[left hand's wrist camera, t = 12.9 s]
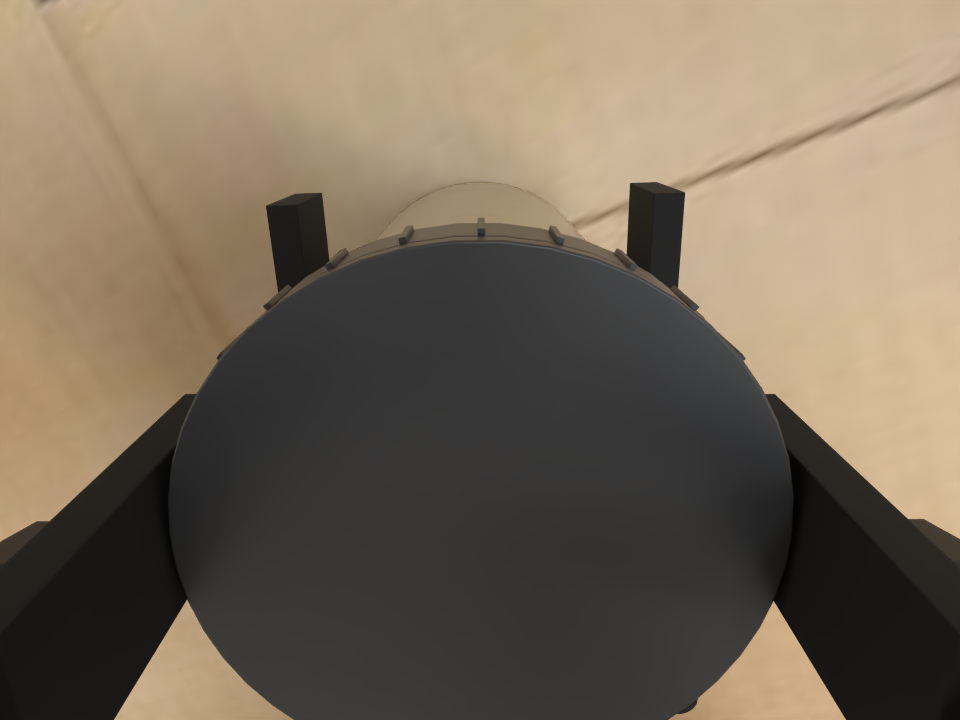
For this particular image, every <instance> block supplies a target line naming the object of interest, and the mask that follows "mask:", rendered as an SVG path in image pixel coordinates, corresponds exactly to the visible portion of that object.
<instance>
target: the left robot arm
mask: <svg viewBox="0 0 960 720" xmlns="http://www.w3.org/2000/svg"><path fill="white" fill-rule="evenodd" d="M195 396H196V394H185V395H184V396H183V397H182V398H181V399H180V400H179V401H178V402H177V403H175V404H174V405H173V406H172V407H171V408H170V409H169V410H168V411H167V412H166V413H165V414H164V415H163V416H162V417H160V418H159V419H158V420H157V421H156V422H155V423H154V424H153V425H152V426H151V427H150V428H149V429H148V430H147V431H146V432H144V433H143V434H142V435H141V436H140V437H139V438H138V439H137V440H136V441H135V442H134V443H133V444H132V445H131V446H130V447H128V448H127V449H126V450H125V451H124V452H123V453H122V454H121V455H120V456H119V457H118V458H117V459H116V460H115V461H114V462H112V463H111V464H110V465H109V466H108V467H107V468H106V469H105V470H104V471H103V472H102V473H101V474H100V475H99V476H98V477H96V478H95V479H94V480H93V481H92V482H91V483H90V484H89V485H88V486H87V487H86V488H85V489H84V490H83V491H82V492H80V493H79V494H78V495H77V496H76V497H75V498H74V499H73V500H72V501H71V502H70V503H69V504H68V505H67V506H66V507H64V508H63V509H62V510H61V511H60V512H59V513H58V514H57V515H56V516H55V517H54V518H53V519H52V520H51V521H37V522H35V523H33V524H31V525H30V526H28V527H26V528H24V529H22V530H21V531H19V532H17V533H15V534H13V535H12V536H10V537H8V538H6V539H4V540H3V541H1V542H0V720H114V719H115V717H116V715H117V714H118V712H119V710H120V709H121V707H122V706H123V704H124V702H125V701H126V699H127V697H128V696H129V694H130V692H131V691H132V689H133V687H134V686H135V684H136V683H137V681H138V679H139V678H140V676H141V674H142V673H143V671H144V669H145V668H146V666H147V664H148V663H149V661H150V660H151V658H152V656H153V655H154V653H155V651H156V650H157V648H158V646H159V645H160V643H161V641H162V640H163V638H164V637H165V635H166V633H167V632H168V630H169V628H170V627H171V625H172V623H173V622H174V620H175V618H176V617H177V615H178V614H179V612H180V610H181V609H182V607H183V605H184V604H185V602H186V600H187V597H186V594H185V591H184V589H183V586H182V583H181V580H180V577H179V575H178V572H177V569H176V565H175V560H174V555H173V550H172V545H171V540H170V535H169V515H168V492H169V483H170V474H171V465H172V460H173V456H174V453H175V449H176V446H177V442H178V438H179V435H180V431H181V427H182V425H183V423H184V421H185V418H186V416H187V414H188V412H189V410H190V407H191V405H192V403H193V401H194V399H195ZM765 396H766V398H767V400H768V402H769V404H770V406H771V408H772V410H773V412H774V415H775V417H776V419H777V421H778V423H779V426H780V430H781V433H782V436H783V440H784V443H785V447H786V450H787V453H788V457H789V462H790V470H791V478H792V485H793V493H794V503H793V532H792V537H791V543H790V548H789V553H788V559H787V564H786V567H785V570H784V573H783V576H782V579H781V582H780V585H779V588H778V591H777V594H776V597H775V599H774V602H775V604H776V605H777V607H778V609H779V610H780V612H781V614H782V615H783V617H784V618H785V620H786V622H787V623H788V625H789V627H790V628H791V630H792V632H793V633H794V635H795V637H796V638H797V640H798V641H799V643H800V645H801V646H802V648H803V650H804V651H805V653H806V655H807V656H808V658H809V660H810V661H811V663H812V664H813V666H814V668H815V669H816V671H817V673H818V674H819V676H820V678H821V679H822V681H823V683H824V684H825V686H826V687H827V689H828V691H829V692H830V694H831V696H832V697H833V699H834V701H835V702H836V704H837V706H838V707H839V709H840V710H841V712H842V714H843V715H844V717H845V719H846V720H960V539H959V538H957V537H955V536H953V535H951V534H950V533H948V532H946V531H944V530H942V529H941V528H939V527H937V526H935V525H933V524H932V523H930V522H928V521H926V520H924V519H907V518H906V517H905V516H904V515H903V514H902V513H901V512H900V511H899V510H898V509H897V508H896V507H894V506H893V505H892V504H891V503H890V502H889V501H888V500H887V499H886V498H885V497H884V496H883V495H882V494H881V493H879V492H878V491H877V490H876V489H875V488H874V487H873V486H872V485H871V484H870V483H869V482H868V481H867V480H866V479H865V478H863V477H862V476H861V475H860V474H859V473H858V472H857V471H856V470H855V469H854V468H853V467H852V466H851V465H850V464H849V463H847V462H846V461H845V460H844V459H843V458H842V457H841V456H840V455H839V454H838V453H837V452H836V451H835V450H834V449H833V448H831V447H830V446H829V445H828V444H827V443H826V442H825V441H824V440H823V439H822V438H821V437H820V436H819V435H818V434H817V433H815V432H814V431H813V430H812V429H811V428H810V427H809V426H808V425H807V424H806V423H805V422H804V421H803V420H802V419H801V418H799V417H798V416H797V415H796V414H795V413H794V412H793V411H792V410H791V409H790V408H789V407H788V406H787V405H786V404H785V403H783V402H782V401H781V400H780V399H779V398H778V397H777V396H776V395H775V394H765Z"/></svg>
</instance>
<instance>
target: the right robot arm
mask: <svg viewBox="0 0 960 720" xmlns="http://www.w3.org/2000/svg"><path fill="white" fill-rule="evenodd" d="M684 200H685V192H682V191H679V190H677V189H674V188H671V187H668V186H666V185H663V184H660V183H658V182H650V183H630V198H629V219H628V240H627V256H628V257H629V258H630V259H631V260H632V261H633V262H634V263H636V264H637V265H638V267H640V268H642V269H643V270H645V271H647V272H649V273H650V274H652V275H653V276H654V277H655V278H657V279H658V280H659V281H660V282H662V283H663V284H664V285H665V286H667V287H668V288H669V289H671V288H672V287H673V286H674V285H675V286H676V287H677V288H678V279H679V266H680V253H681V239H682V226H683V213H684ZM266 209H267V216H268V223H269V230H270V237H271V244H272V251H273V259H274V266H275V273H276V280H277V287H278V293H279V292H280V291H281V290H282V289H283V288H285V287H286V286H287V285H289V286H290V287H291V288H294V287H295V286H296V285H297V284H298V283H300V282H301V281H302V280H303V279H305V278H306V277H307V276H309V275H310V274H312V273H313V272H315V271H317V270H318V269H320V268H322V267H323V266H325V264H327V263H328V262H329V253H328V244H327V235H326V227H325V218H324V209H323V200H322V193H306V194H294V195H291V196H289V197H286V198H284V199H282V200H279V201H277V202H274V203H272V204H269V205H267V206H266ZM696 312H697V311H696ZM697 313H698V312H697ZM698 314H699V313H698ZM699 315H700V316H702V315H701V314H699ZM702 317H703V316H702ZM703 318H704V317H703ZM697 700H698V698H697V699H696V700H695V701H694V702H693V703H691V704H690V705H689V706H687V707H686V708H684V709H683V710H681V711H680V712H678V713H677V714H682V713H686V712H688V711H690V710H691V709H693V708H694V707H695V705H696V704H697Z"/></svg>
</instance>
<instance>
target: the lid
mask: <svg viewBox="0 0 960 720" xmlns="http://www.w3.org/2000/svg"><path fill="white" fill-rule="evenodd" d="M263 307H264V308H265V309H266V310H267V311H266V312H265V313H263V314H262V315H261V316H260V317H259V318H258V319H257V320H256V321H255V322H254V323H252V324H251V325H250V326H249V327H248V328H247V329H246V330H245V331H244V332H243V333H242V334H241V335H239V336H238V337H237V338H236V339H235V340H234V341H233V342H232V343H231V344H230V345H228V346H227V347H226V348H225V349H224V350H223V351H222V352H221V353H220V354H219V355H218V357H217V359H218V362H217V363H216V365H215V366H214V368H213V369H212V371H211V372H210V374H209V375H208V377H207V378H206V380H205V382H204V383H203V385H202V386H201V388H200V389H199V391H198V392H197V394H196V396H195V399H194V401H193V403H192V405H191V407H190V410H189V412H188V414H187V416H186V418H185V421H184V423H183V425H182V427H181V431H180V435H179V438H178V442H177V446H176V449H175V453H174V456H173V460H172V465H171V474H170V483H169V492H168V515H169V535H170V540H171V545H172V550H173V555H174V560H175V565H176V569H177V572H178V575H179V577H180V580H181V583H182V586H183V589H184V591H185V594H186V597H187V600H188V602H189V604H190V606H191V608H192V609H193V611H194V613H195V615H196V617H197V619H198V621H199V623H200V624H201V626H202V628H203V630H204V632H205V633H206V634H207V636H208V637H209V639H210V640H211V641H212V643H213V644H214V646H215V647H216V648H217V650H218V651H219V653H220V654H221V655H222V657H223V658H224V659H225V660H226V662H227V663H228V664H229V665H230V666H231V667H232V668H233V669H234V670H235V671H236V672H237V673H238V675H239V676H240V677H241V678H242V679H243V680H244V681H245V682H246V683H247V684H248V685H249V686H250V687H252V688H253V689H254V690H255V691H256V692H257V693H259V694H260V695H261V696H262V697H263V698H265V699H266V700H267V701H268V702H269V703H270V704H272V705H273V706H274V707H276V708H277V709H279V710H280V711H282V712H283V713H285V714H286V715H288V716H289V717H291V718H292V719H294V720H668V719H670V718H671V717H673V716H674V715H676V714H677V713H678V712H680V711H681V710H683V709H684V708H686V707H687V706H689V705H690V704H691V703H693V702H694V701H695V700H696V699H697V698H698V697H700V696H701V695H702V694H703V693H704V692H705V691H706V690H708V689H709V688H710V687H711V686H712V685H713V684H714V683H716V682H717V681H718V680H719V679H720V678H721V676H722V675H723V674H724V673H725V672H726V671H727V670H728V669H729V668H730V666H731V665H732V664H733V663H734V662H735V661H736V660H737V659H738V658H739V656H740V655H741V654H742V652H743V651H744V650H745V648H746V647H747V645H748V644H749V642H750V641H751V639H752V638H753V637H754V635H755V634H756V632H757V631H758V629H759V628H760V626H761V624H762V622H763V620H764V618H765V616H766V614H767V612H768V610H769V609H770V607H771V605H772V603H773V601H774V599H775V597H776V594H777V591H778V588H779V585H780V582H781V579H782V576H783V573H784V570H785V567H786V564H787V559H788V553H789V548H790V543H791V537H792V532H793V503H794V493H793V485H792V478H791V470H790V462H789V457H788V453H787V450H786V447H785V443H784V440H783V436H782V433H781V430H780V426H779V423H778V421H777V419H776V417H775V415H774V412H773V410H772V408H771V406H770V404H769V402H768V400H767V398H766V396H765V394H764V391H763V389H762V388H761V386H760V385H759V383H758V382H757V380H756V379H755V377H754V376H753V374H752V373H751V372H750V370H749V369H748V367H747V366H746V364H745V363H744V360H745V357H744V356H743V354H742V353H741V352H739V351H738V350H737V349H736V348H735V347H734V346H733V345H732V344H731V343H730V342H728V341H727V340H726V339H725V338H724V337H723V336H722V335H721V334H720V333H718V332H717V331H716V330H715V329H714V328H713V327H712V326H711V325H710V324H709V323H708V322H707V321H706V320H705V319H704V318H703V317H702V316H700V315H699V314H698V313H697V312H696V310H697V309H698V308H699V306H698V305H697V304H695V303H694V302H693V301H692V300H691V299H690V298H689V297H687V296H686V295H685V294H684V293H683V292H682V291H680V290H679V289H678V288H677V287H676V286H675V285H674V286H673V287H672V288H671V289H669V288H668V287H667V286H665V285H664V284H663V283H662V282H660V281H659V280H658V279H657V278H655V277H654V276H653V275H652V274H650V273H649V272H647V271H645V270H643V269H642V268H640V267H638V265H637V264H636V263H634V262H633V261H632V260H631V259H630V258H629V257H628V256H627V255H626V254H625V253H624V252H623V251H621V250H619V249H616V251H615V253H614V252H611V251H609V250H606V249H604V248H601V247H599V246H597V245H594V244H592V243H589V242H587V241H585V240H582V239H580V238H576V237H572V236H568V235H565V234H561V233H560V231H559V230H558V228H557V227H556V226H552V225H550V227H549V230H546V229H542V228H536V227H528V226H520V225H512V224H504V223H485V218H478V223H456V224H449V225H441V226H434V227H427V228H420V229H415V230H414V228H413V225H410V226H406V228H405V229H404V231H403V232H402V233H401V234H397V235H393V236H390V237H386V238H383V239H379V240H376V241H374V242H372V243H369V244H367V245H365V246H362V247H360V248H358V249H355V250H353V251H351V252H349V253H348V252H347V250H346V248H344V249H342V250H340V251H339V252H338V253H337V254H336V255H335V256H334V257H333V258H332V259H331V260H330V261H329V262H328V263H327V264H325V266H323V267H322V268H320V269H318V270H317V271H315V272H313V273H312V274H310V275H309V276H307V277H306V278H305V279H303V280H302V281H301V282H300V283H298V284H297V285H296V286H295V287H294V288H291V287H290V286H289V285H287V286H286V287H285V288H283V289H282V290H281V291H280V292H279V293H278V294H277V295H275V296H274V297H273V298H272V299H271V300H270V301H268V302H267V303H266V304H265V305H264V306H263Z"/></svg>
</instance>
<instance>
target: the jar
mask: <svg viewBox="0 0 960 720" xmlns="http://www.w3.org/2000/svg"><path fill="white" fill-rule="evenodd" d="M478 218H485V223H504V224H512V225H520V226H528V227H536V228H542V229H546V230H549V227H550V225H552V226H556V227H557V228H558V230H559V231H560V233H561V234H565V235H568V236H572V237H576V238H580V239H582V240H584V238H583V237H582V236H581V235H580V234H579V233H578V231H577V230H576V229H575V228H574V227H573V226H572V224H571V223H570V222H569V221H568V220H567V219H566V218H565V217H564V216H563V215H562V214H561V213H560V212H559V211H558V210H556V209H555V208H554V207H553V206H551V205H550V204H549V203H547V202H546V201H544V200H542V199H541V198H539V197H537V196H536V195H534V194H531V193H529V192H527V191H524V190H522V189H519V188H516V187H512V186H508V185H505V184H498V183H490V182H471V183H464V184H457V185H453V186H449V187H446V188H442V189H439V190H437V191H435V192H432V193H430V194H428V195H425V196H424V197H422V198H421V199H419V200H417V201H416V202H414V203H412V204H411V205H410V206H409V207H407V208H406V209H405V210H404V211H402V212H401V213H400V214H399V215H398V216H397V217H396V218H395V219H394V220H393V221H392V223H391V224H390V225H389V226H388V227H387V228H386V229H385V231H384V232H383V233H382V234H381V235H380V236H379V238H378V239H377V240H379V239H383V238H386V237H390V236H393V235H397V234H401V233H402V232H403V231H404V229H405V228H406V226H410V225H413V228H414V230H415V229H420V228H427V227H434V226H441V225H449V224H456V223H478Z"/></svg>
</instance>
